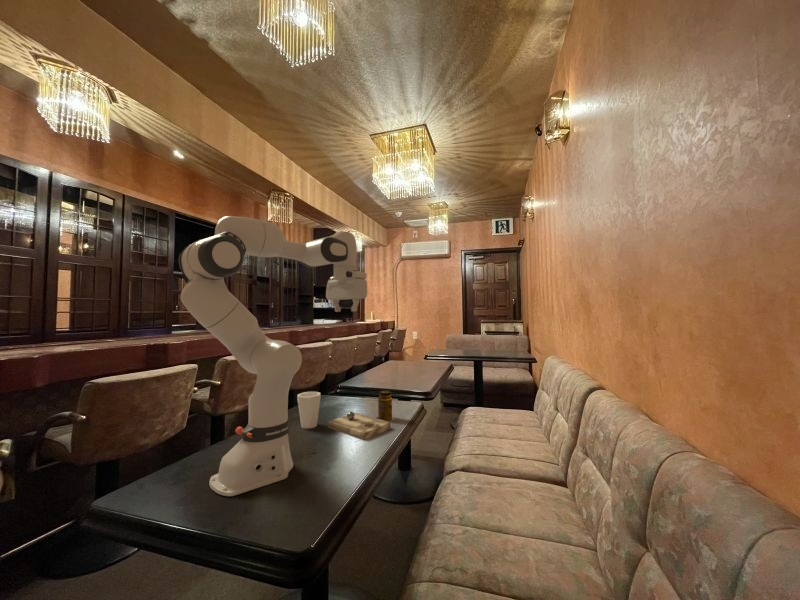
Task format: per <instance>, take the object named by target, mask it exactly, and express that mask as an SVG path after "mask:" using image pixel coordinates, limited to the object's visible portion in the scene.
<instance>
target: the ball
mask: <svg viewBox="0 0 800 600" xmlns="http://www.w3.org/2000/svg"><path fill="white" fill-rule="evenodd" d="M354 413H355V412H353V411H348V412H347V414H346V415H347V418H348V419H349V420H352V419H353V418H354V416H355V414H354Z"/></svg>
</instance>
